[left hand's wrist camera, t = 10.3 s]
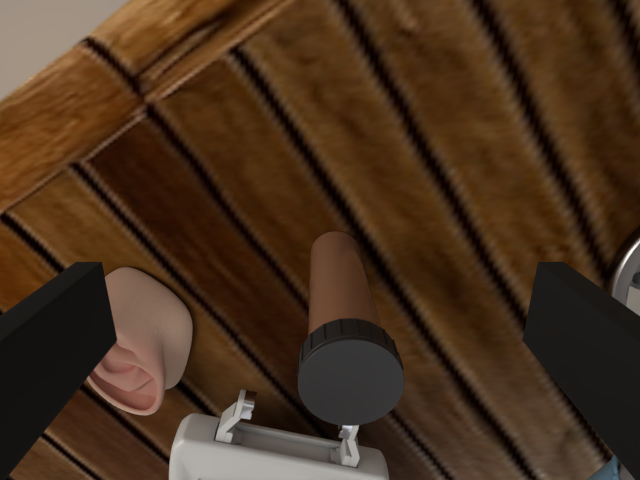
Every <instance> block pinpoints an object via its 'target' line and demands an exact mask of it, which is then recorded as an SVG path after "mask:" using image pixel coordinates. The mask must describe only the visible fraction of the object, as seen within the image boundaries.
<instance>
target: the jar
mask: <svg viewBox="0 0 640 480" xmlns="http://www.w3.org/2000/svg"><path fill="white" fill-rule="evenodd" d="M343 318H356V319H362V320H366V321H369V322H370V321H371V322H372V323H374V324H376V325H377V326H379V327H381V324H380V321H379V317H378V313H377V310H376V306H375V302H374V299H373V295H372V292H371V288H370V284H369V281H368V277H367V273H366V270H365V266H364V262H363V259H362V255H361V251H360V248H359V245H358V243H357V242H356V240H355V239H354V238H353V237H352V236H350V235H349V234H347V233H344V232H339V231H332V232H328V233H325V234H323V235H321V236H320V237H319V238H318V239H317V240H316V241H315V242H314V244H313V245H312V248H311V253H310V286H309V324H308V336H309V335H310V333H312V332H313V331H314V330H316V329H317V328H318V327H320V326H322V324H325V323H328V322H330V321H334V320H337V319H343Z"/></svg>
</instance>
